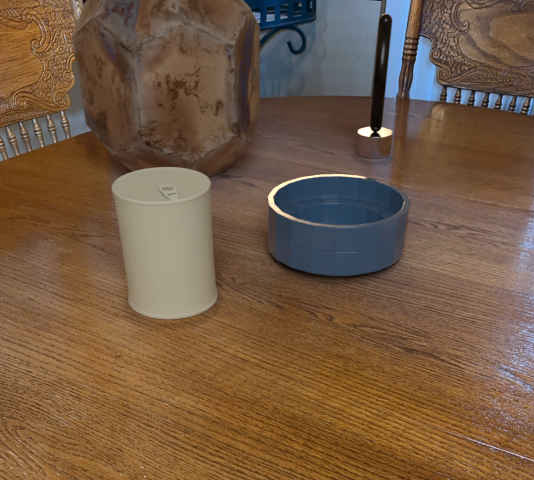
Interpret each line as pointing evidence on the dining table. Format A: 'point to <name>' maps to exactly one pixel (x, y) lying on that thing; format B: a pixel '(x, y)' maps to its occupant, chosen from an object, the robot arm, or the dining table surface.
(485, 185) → the dining table surface
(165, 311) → the can
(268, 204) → the bowl
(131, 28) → the planter
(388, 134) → the black handled meat pounder
